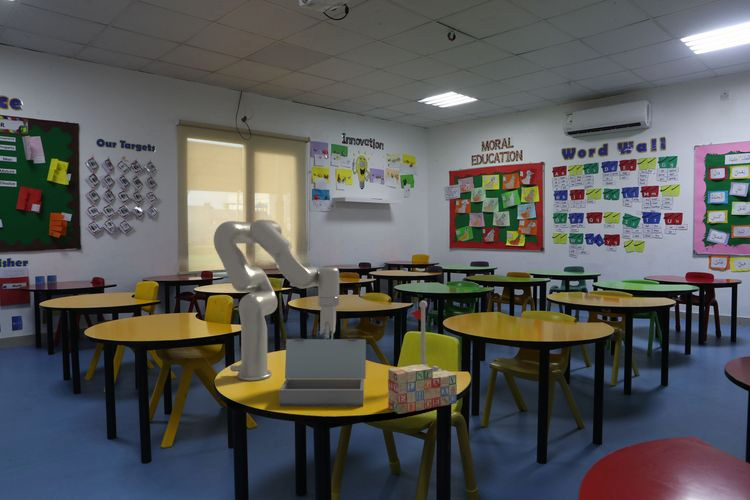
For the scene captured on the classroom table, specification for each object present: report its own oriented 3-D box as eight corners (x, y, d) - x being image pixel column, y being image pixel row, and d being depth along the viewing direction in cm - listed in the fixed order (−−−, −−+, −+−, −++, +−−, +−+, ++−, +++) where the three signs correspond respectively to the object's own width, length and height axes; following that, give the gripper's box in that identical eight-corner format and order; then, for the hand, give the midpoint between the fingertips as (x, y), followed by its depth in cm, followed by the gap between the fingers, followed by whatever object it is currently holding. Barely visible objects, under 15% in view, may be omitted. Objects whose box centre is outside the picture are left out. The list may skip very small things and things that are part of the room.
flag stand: (447, 382, 173) (447, 299, 173) (431, 391, 162) (431, 303, 162) (415, 376, 180) (415, 297, 180) (398, 385, 170) (398, 301, 169)
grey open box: (279, 406, 147) (279, 390, 147) (286, 393, 159) (286, 379, 159) (363, 406, 147) (363, 390, 147) (364, 394, 159) (364, 379, 159)
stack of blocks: (445, 398, 156) (445, 360, 156) (457, 403, 150) (457, 365, 150) (387, 408, 146) (387, 368, 146) (397, 414, 141) (397, 373, 141)
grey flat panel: (285, 338, 161) (286, 338, 163) (284, 379, 158) (285, 378, 160) (365, 338, 161) (365, 338, 163) (365, 379, 158) (365, 378, 160)
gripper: (320, 299, 179) (320, 347, 179) (315, 304, 164) (315, 357, 164) (340, 299, 179) (340, 347, 179) (337, 304, 164) (337, 357, 164)
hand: (328, 352), depth 172 cm, fingers closed
